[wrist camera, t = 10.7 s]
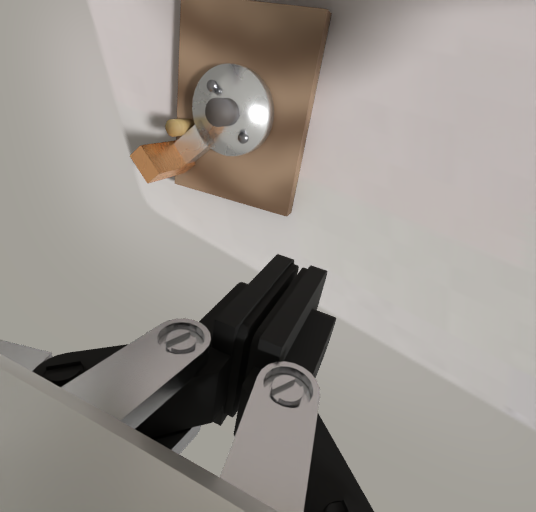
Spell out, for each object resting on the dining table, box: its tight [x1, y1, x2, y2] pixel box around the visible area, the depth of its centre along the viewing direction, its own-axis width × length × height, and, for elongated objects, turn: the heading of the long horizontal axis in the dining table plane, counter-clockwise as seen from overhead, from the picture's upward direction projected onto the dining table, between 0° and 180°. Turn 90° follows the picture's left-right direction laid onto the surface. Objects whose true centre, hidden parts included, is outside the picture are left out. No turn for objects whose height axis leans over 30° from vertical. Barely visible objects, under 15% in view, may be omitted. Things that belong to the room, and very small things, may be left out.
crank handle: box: [130, 63, 274, 183], centre depth 32 cm, size 13×8×6 cm, turn 124°
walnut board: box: [165, 0, 332, 216], centre depth 32 cm, size 18×14×6 cm
